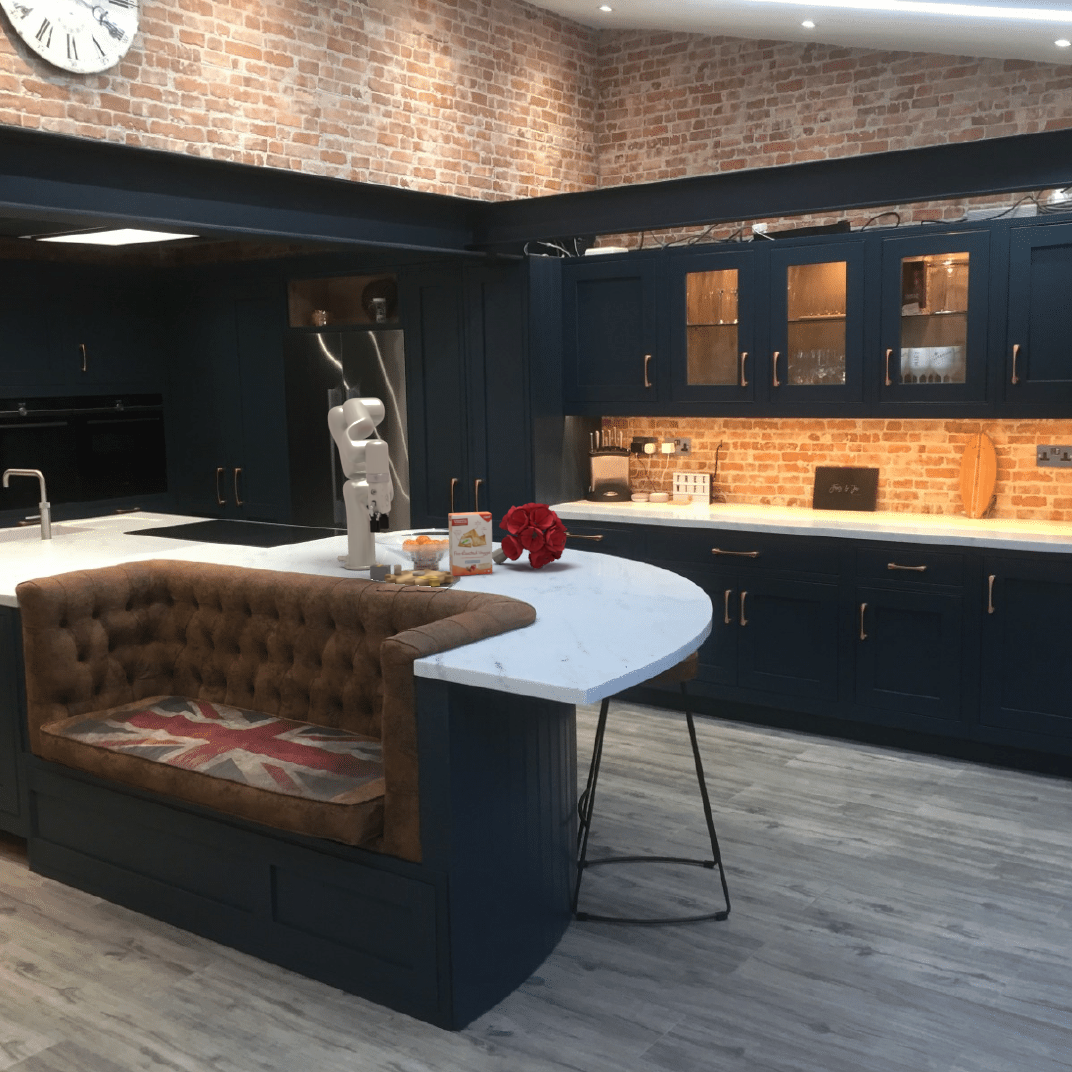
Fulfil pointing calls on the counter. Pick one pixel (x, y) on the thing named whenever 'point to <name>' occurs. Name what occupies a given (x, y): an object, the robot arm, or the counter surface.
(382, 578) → the grey small block
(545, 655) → the counter surface
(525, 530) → the bouquet
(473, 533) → the cracker box
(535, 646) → the counter surface
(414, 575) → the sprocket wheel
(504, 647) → the counter surface
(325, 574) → the counter surface
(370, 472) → the robot arm
